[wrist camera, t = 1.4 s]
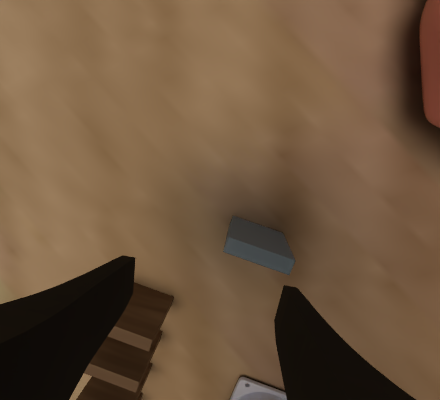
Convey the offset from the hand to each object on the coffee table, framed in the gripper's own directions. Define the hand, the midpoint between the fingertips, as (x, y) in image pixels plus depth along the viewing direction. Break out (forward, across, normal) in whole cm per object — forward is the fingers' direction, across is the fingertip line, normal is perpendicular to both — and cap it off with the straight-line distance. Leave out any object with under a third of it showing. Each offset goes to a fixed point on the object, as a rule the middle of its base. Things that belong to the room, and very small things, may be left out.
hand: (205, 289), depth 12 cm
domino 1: (+12, +6, +10) cm, 17 cm away
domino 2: (+11, +7, +15) cm, 20 cm away
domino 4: (+12, -3, +1) cm, 12 cm away
